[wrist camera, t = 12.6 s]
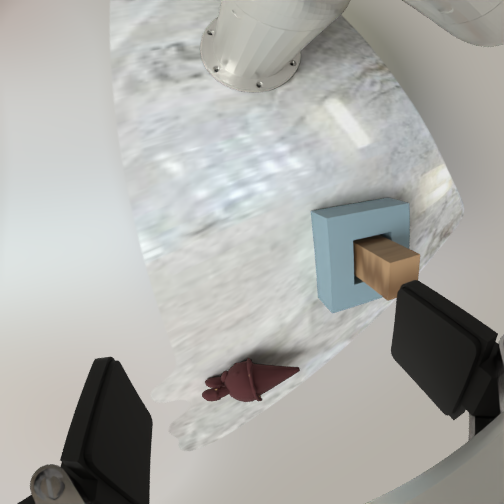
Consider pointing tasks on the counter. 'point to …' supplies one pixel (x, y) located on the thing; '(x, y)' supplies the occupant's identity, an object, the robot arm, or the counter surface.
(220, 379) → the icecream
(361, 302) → the socket block
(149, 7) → the counter surface
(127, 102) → the counter surface
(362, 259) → the walnut peg
